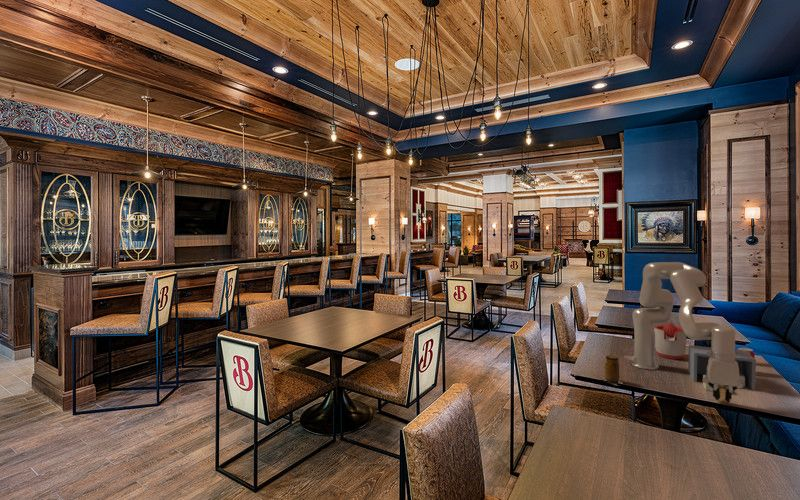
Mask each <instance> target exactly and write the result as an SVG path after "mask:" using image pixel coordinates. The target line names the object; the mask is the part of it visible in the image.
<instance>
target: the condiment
mask: <svg viewBox="0 0 800 500" xmlns="http://www.w3.org/2000/svg"><path fill="white" fill-rule="evenodd" d="M604 379H606V380H607V381H608V382H607V383H608V384H610V385H614V386H618V385H617V384H619V383H618V381H620V362H619V357H618V356H616V355H610V354H609V355H606V356H605V361H604Z"/></svg>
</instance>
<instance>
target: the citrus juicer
mask: <svg viewBox="0 0 800 500" xmlns="http://www.w3.org/2000/svg"><path fill="white" fill-rule="evenodd" d="M653 327H654V329H653V331H654V332H655V353H657V355H658V356H659V357H662V358H665V359H670V360H681V359H683V358H684V355H685V352H686V350H687V349H686V348H687V336H686V334H685V333H684V331H683V329H682V327H681V326H678V325H674V324H673V323H672V322H668V323H667V324H665V325H656V326H653Z"/></svg>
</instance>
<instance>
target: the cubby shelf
mask: <svg viewBox="0 0 800 500" xmlns="http://www.w3.org/2000/svg"><path fill="white" fill-rule="evenodd" d="M707 352H711V346H702V345H691V344H689V345H688V364H687V365H688V371H687V372H688V375H690V378H691V379H692V381H693V382H695V383H697V381H698V375H702V376H703V375H706V373H707V365H708V360H709V358H710V357H711V356H709V355H707ZM735 361H736V362H737V363H738V367H739V372H741V373H742V374H743V375H744V376H745V385H747V386H748V388H750V389H751V391H756V377H757V376H756V375H757V373H756V370H757V369H756V368H757V365H756V364H757V359H756V357H755V358H753V357H752V356H751V355H750V354H749V353H748V352H746V351H740V350H738V349H735ZM723 386H726V385H723Z"/></svg>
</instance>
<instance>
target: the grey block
mask: <svg viewBox="0 0 800 500" xmlns="http://www.w3.org/2000/svg"><path fill="white" fill-rule="evenodd" d="M739 377H740V382H741V383H742V385H743V388H745V386H746V383H745V376H744V375H743V374H742V373H741V372H739Z"/></svg>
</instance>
